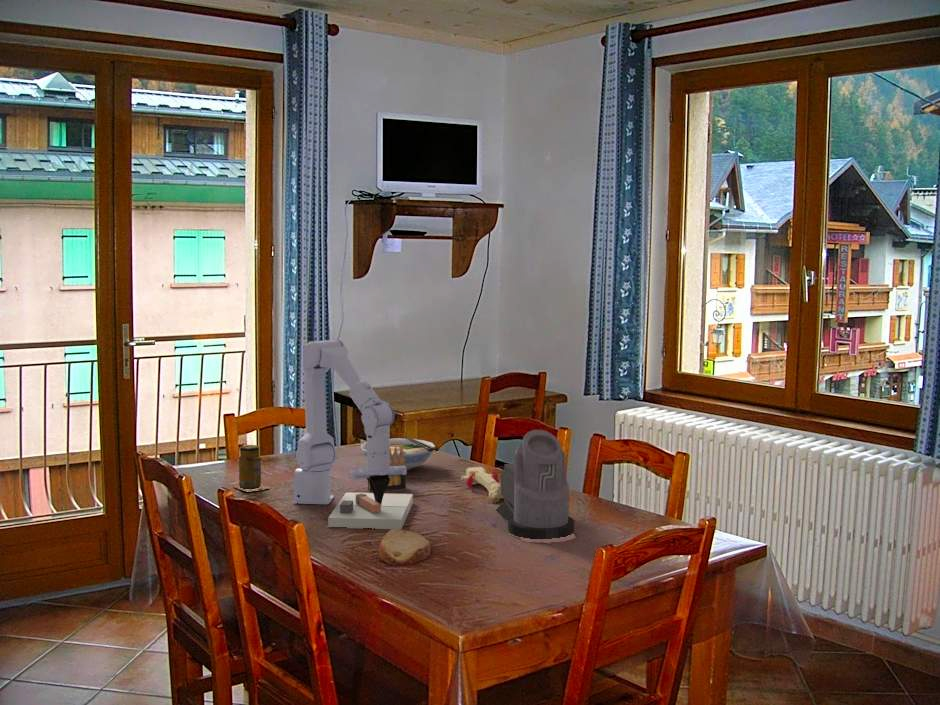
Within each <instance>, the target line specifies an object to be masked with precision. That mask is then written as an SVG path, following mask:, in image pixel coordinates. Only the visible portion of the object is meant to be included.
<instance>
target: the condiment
mask: <svg viewBox="0 0 940 705" xmlns="http://www.w3.org/2000/svg"><path fill="white" fill-rule="evenodd" d="M239 450H240V451H239V456H238V483H239V484H238V486H240V488H243V489H255V488H259V487H260V486H262V467H261V466H262V458H261V455H260V447H259V445H256V444H254V445H253V444H245V445H242V446H241V447H240V448H239Z"/></svg>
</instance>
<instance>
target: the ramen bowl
mask: <svg viewBox="0 0 940 705" xmlns="http://www.w3.org/2000/svg"><path fill="white" fill-rule="evenodd" d="M401 437H402V438H400V437H398V438H397V437H396V438H390V449H391V454H392V466H393V454H394V449H395V447H396V448H397V453H398V466H399V453H400V448H401V446H402V448H403V453H404V466H405V467H407V472H409V471H410V470H411V469H414V468H417V467H419V466H421V465H423V464H424V463H425V462H427V460H428V459H429V458H430V457H431V455H432V453H433V452H439V449H438V448H436V445H435V444H434V443H433V442H430V441H426V440H424V439H423V440H422V439H416V438H411V437H409V436H405V435H401ZM360 448H361V450H362V453H364V456H365V457H366V458H367V441H366V442H363V443H362V444H361V445H360Z"/></svg>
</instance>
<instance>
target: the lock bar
mask: <svg viewBox="0 0 940 705" xmlns="http://www.w3.org/2000/svg"><path fill="white" fill-rule="evenodd" d="M356 504H360V505H361V506H363V507H365V508H366V509H368V510H369V511H371V512H373V513H377V512H381V504H380V503H378V502H376V501H375V500H373V499H371V498H369V497H368V496H367V495H366V494H356Z"/></svg>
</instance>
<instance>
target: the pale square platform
mask: <svg viewBox="0 0 940 705" xmlns="http://www.w3.org/2000/svg"><path fill="white" fill-rule="evenodd" d="M356 494H366V495H367V496H368V497H369V498H371V499H373V500H375V498H374V494H373V492H345V494H344V495H343V497H342V498H341V499H340V501H339V502H338V504H337V505H336V506H335V507H334V509H333V510H332V512H331V514H329V516H328V518H327V520H328V521H327V522H328V525H327V526H328V527H347V528H346V529H363V528H372V529H373V530H391V529H399V530H403V526H404V524H405V522H406V519H407V517H408V515H409V512H410V511H411V508H412V506H413V502H414V501H413V500H414V494H413V493H386V492H385V493H384V496H383V499H382V504H381V512H377V513H373V512H371V511H369V510H368V509H366V508H365V507H363V506H361V505H360V504H356ZM374 528H375V529H374ZM372 529H371V530H372Z"/></svg>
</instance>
